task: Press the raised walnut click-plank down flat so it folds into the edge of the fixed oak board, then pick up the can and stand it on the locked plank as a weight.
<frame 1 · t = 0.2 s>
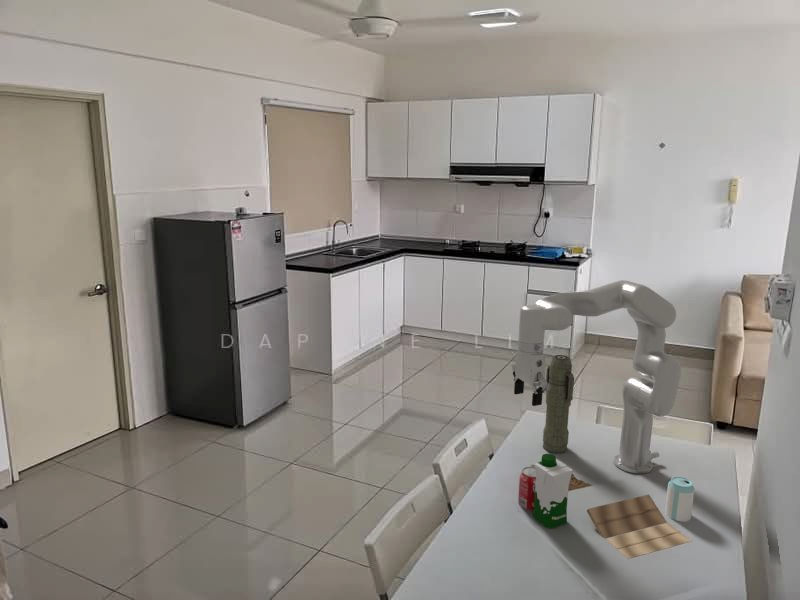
hand: (527, 399, 187), 31 cm above the table, fingers open, 9 cm apart
plank: (626, 516, 175), point 3 cm above the table, hinge at 30.0°
thermos: (555, 448, 222), on the table
soda can: (529, 507, 185), on the table
wooden fragment: (562, 481, 201), on the table
can: (677, 518, 180), on the table
oak board: (636, 533, 172), on the table
milk carton: (549, 523, 177), on the table
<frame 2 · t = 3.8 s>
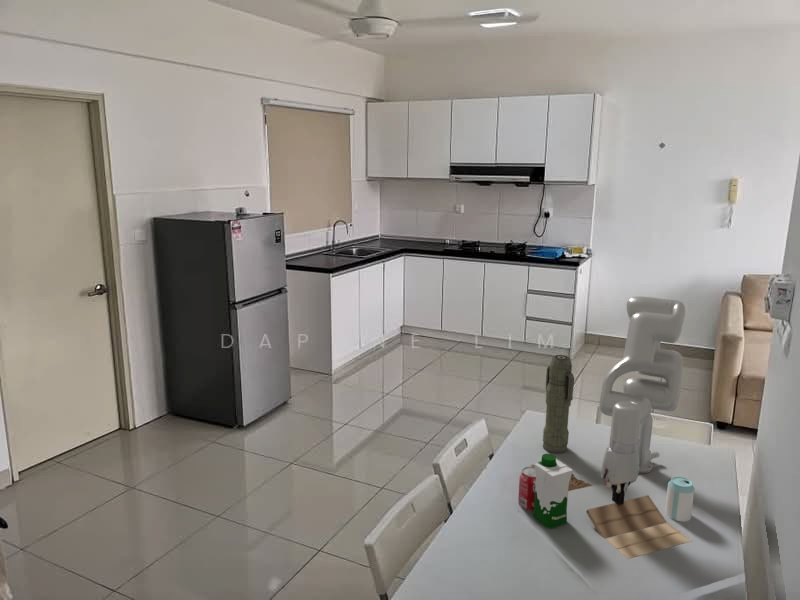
hand: (617, 502, 178), 5 cm above the table, fingers closed
plank: (626, 516, 175), point 3 cm above the table, hinge at 27.2°, touching gripper
everything else where it was.
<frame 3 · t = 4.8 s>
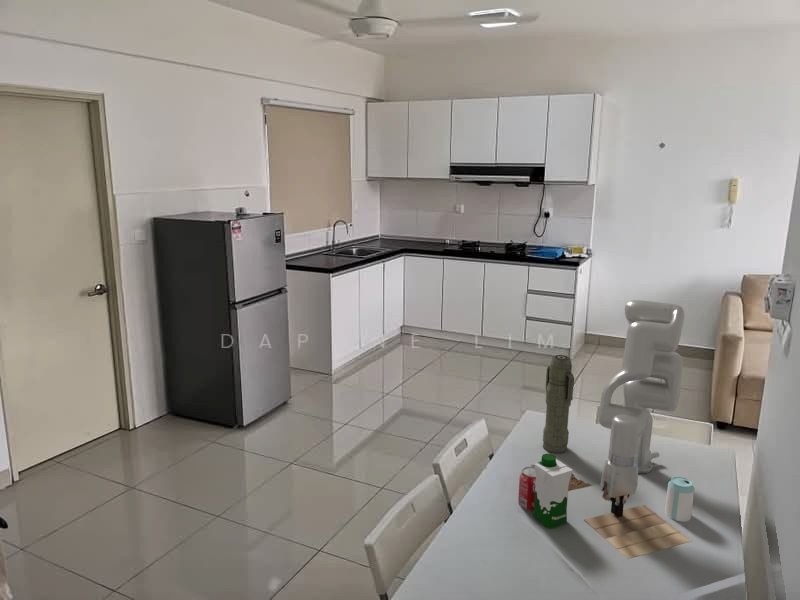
hand: (616, 514, 179), 1 cm above the table, fingers closed
plank: (625, 522, 176), point 1 cm above the table, hinge at 1.9°, touching gripper
everything else where it was.
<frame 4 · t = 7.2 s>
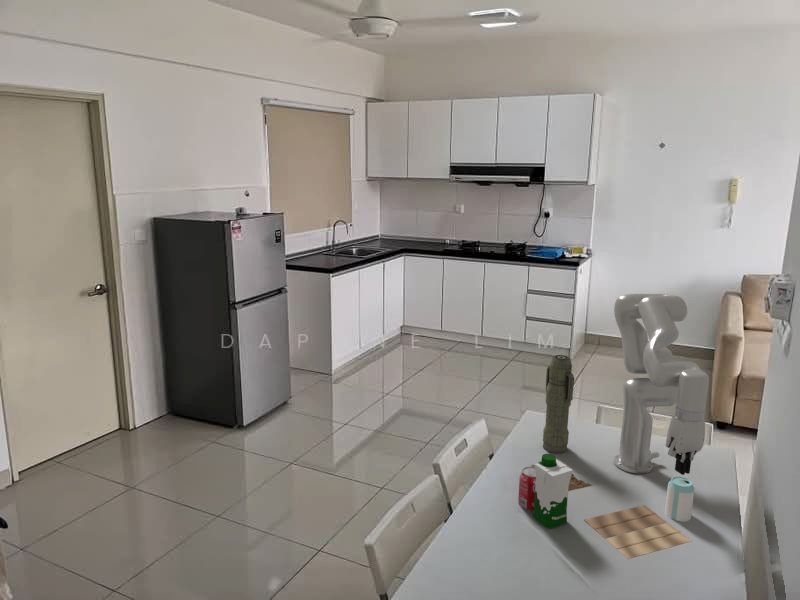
hand: (682, 471, 176), 15 cm above the table, fingers closed
plank: (625, 522, 176), point 1 cm above the table, hinge at 1.8°
everything else where it was.
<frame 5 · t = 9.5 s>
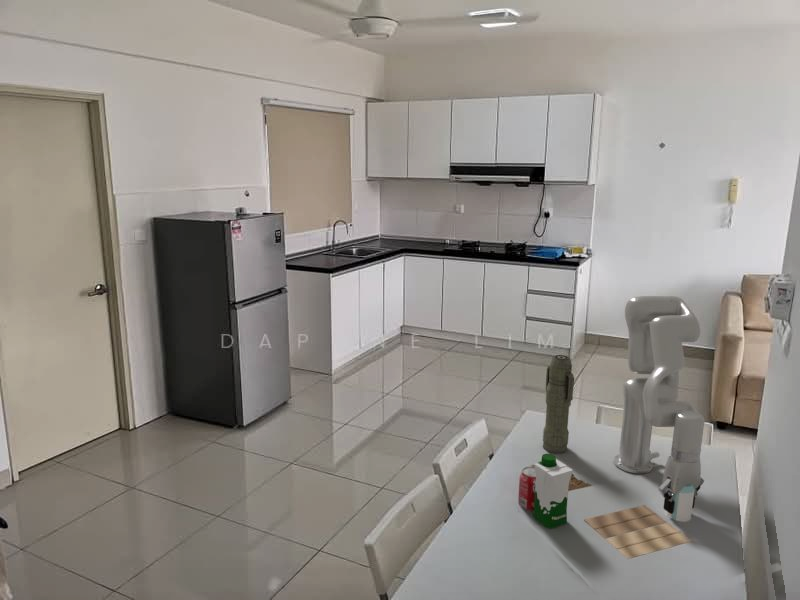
hand: (678, 508, 179), 3 cm above the table, fingers closed on can, 7 cm apart
can: (677, 518, 180), on the table, touching gripper
everything else where it was.
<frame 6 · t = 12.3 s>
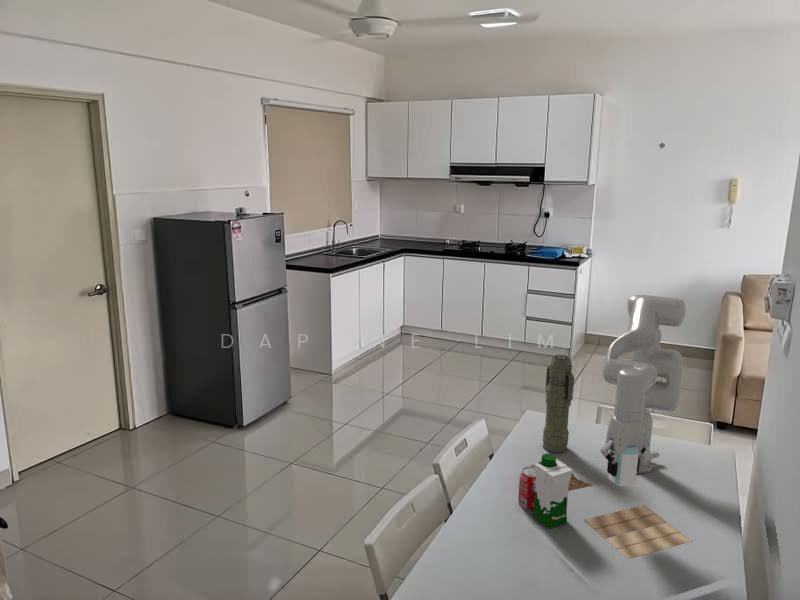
hand: (622, 471, 171), 18 cm above the table, fingers closed on can, 7 cm apart
can: (621, 482, 172), point 14 cm above the table, touching gripper
everything else where it was.
when the fingers open (5 cm above the table, at t = 15.2 s): can stays where it is, resting on plank.
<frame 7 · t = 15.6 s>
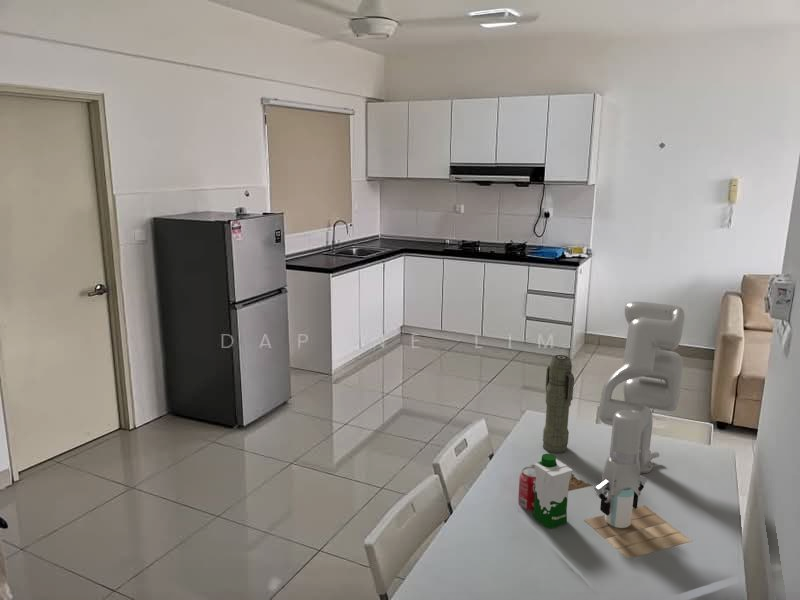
hand: (618, 509, 174), 6 cm above the table, fingers open, 9 cm apart
plank: (625, 522, 176), point 1 cm above the table, hinge at 1.0°, touching can
can: (617, 523, 175), point 1 cm above the table, touching plank
everything else where it was.
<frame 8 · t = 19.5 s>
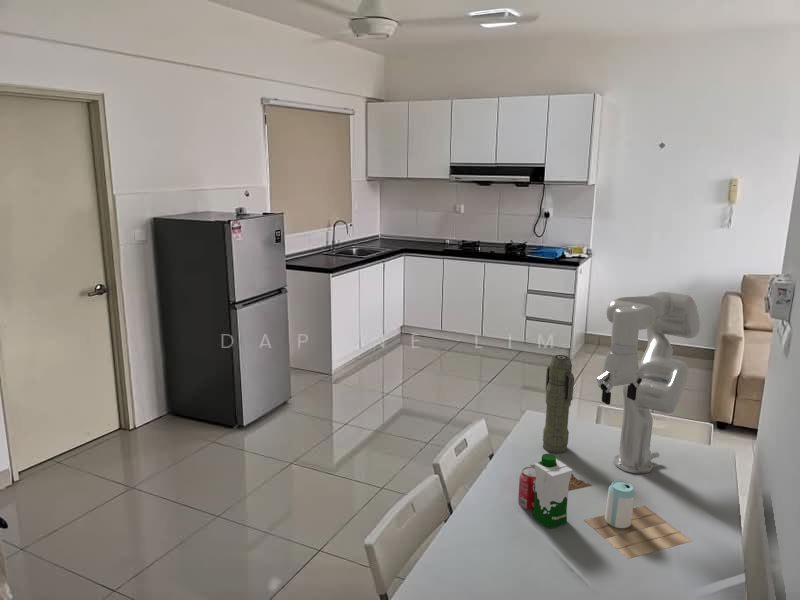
hand: (618, 400, 188), 30 cm above the table, fingers open, 9 cm apart
nothing on the table moved.
at the end: plank at +1° (first picture: +30°); can inside the target area (0.2 cm from its centre), point 1.2 cm above the table; can tilted 2° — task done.
